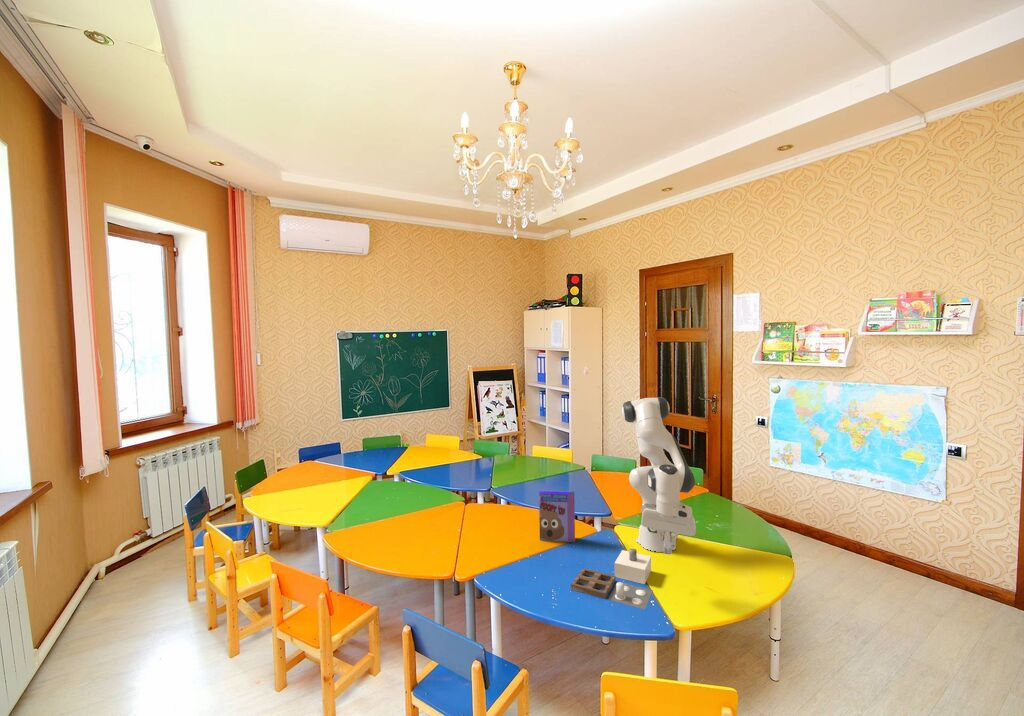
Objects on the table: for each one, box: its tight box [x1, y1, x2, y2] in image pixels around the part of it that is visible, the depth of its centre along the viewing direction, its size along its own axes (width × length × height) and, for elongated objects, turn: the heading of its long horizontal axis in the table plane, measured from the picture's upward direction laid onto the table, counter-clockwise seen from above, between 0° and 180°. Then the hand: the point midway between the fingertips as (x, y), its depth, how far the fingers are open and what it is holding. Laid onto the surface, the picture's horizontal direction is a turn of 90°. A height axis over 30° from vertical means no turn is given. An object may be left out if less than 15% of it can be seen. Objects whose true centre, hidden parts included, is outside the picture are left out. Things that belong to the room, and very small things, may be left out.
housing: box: [614, 548, 652, 585], centre depth 187 cm, size 12×12×11 cm
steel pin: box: [663, 531, 673, 555], centre depth 175 cm, size 3×3×10 cm
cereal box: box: [538, 490, 576, 543], centre depth 222 cm, size 17×5×24 cm, turn 81°
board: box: [607, 581, 654, 611], centre depth 172 cm, size 14×14×6 cm
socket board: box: [570, 567, 616, 600], centre depth 179 cm, size 14×14×3 cm
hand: (667, 541), depth 175 cm, fingers closed on steel pin, 3 cm apart
